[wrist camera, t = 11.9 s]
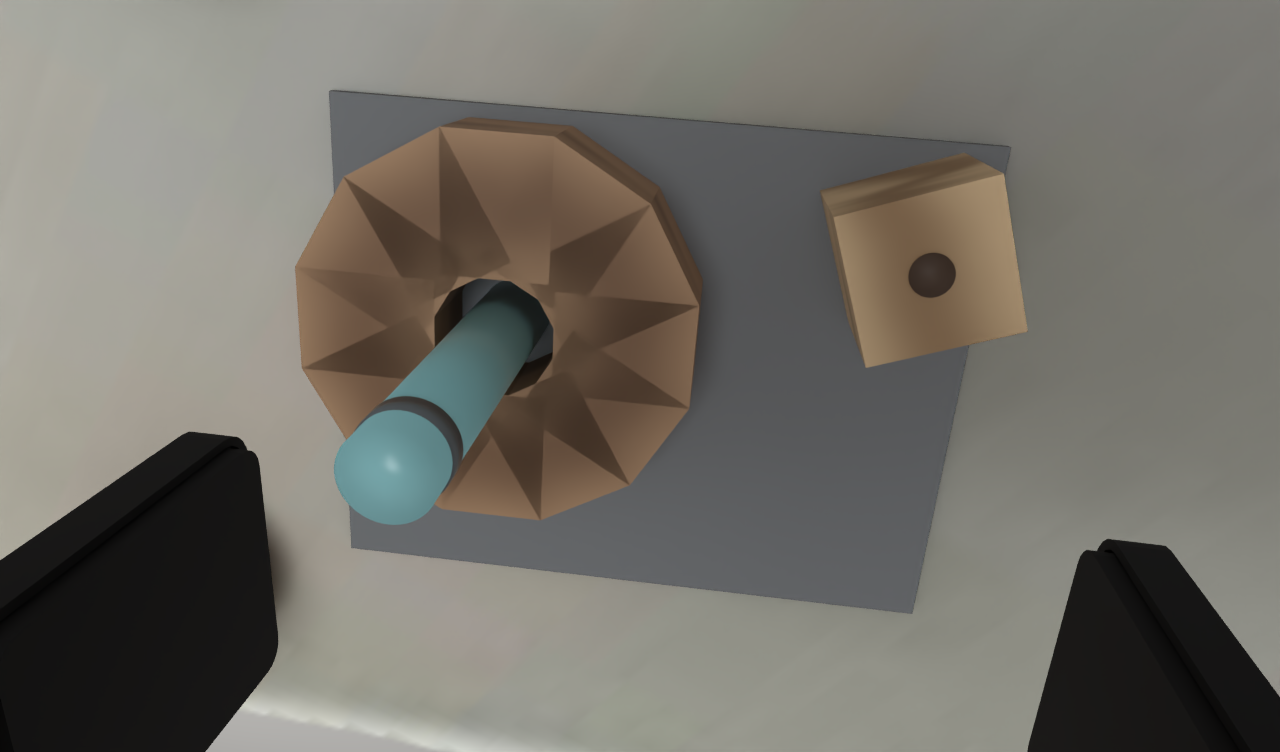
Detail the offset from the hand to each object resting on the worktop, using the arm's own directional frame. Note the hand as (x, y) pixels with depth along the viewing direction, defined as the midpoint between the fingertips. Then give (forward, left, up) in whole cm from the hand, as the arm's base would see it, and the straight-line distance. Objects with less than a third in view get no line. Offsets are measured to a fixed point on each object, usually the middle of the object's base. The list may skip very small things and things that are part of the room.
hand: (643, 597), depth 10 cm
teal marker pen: (+7, +5, -24) cm, 26 cm away
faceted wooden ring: (+7, +4, -24) cm, 26 cm away
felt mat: (+2, +6, -25) cm, 26 cm away
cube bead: (-7, +1, -24) cm, 25 cm away
